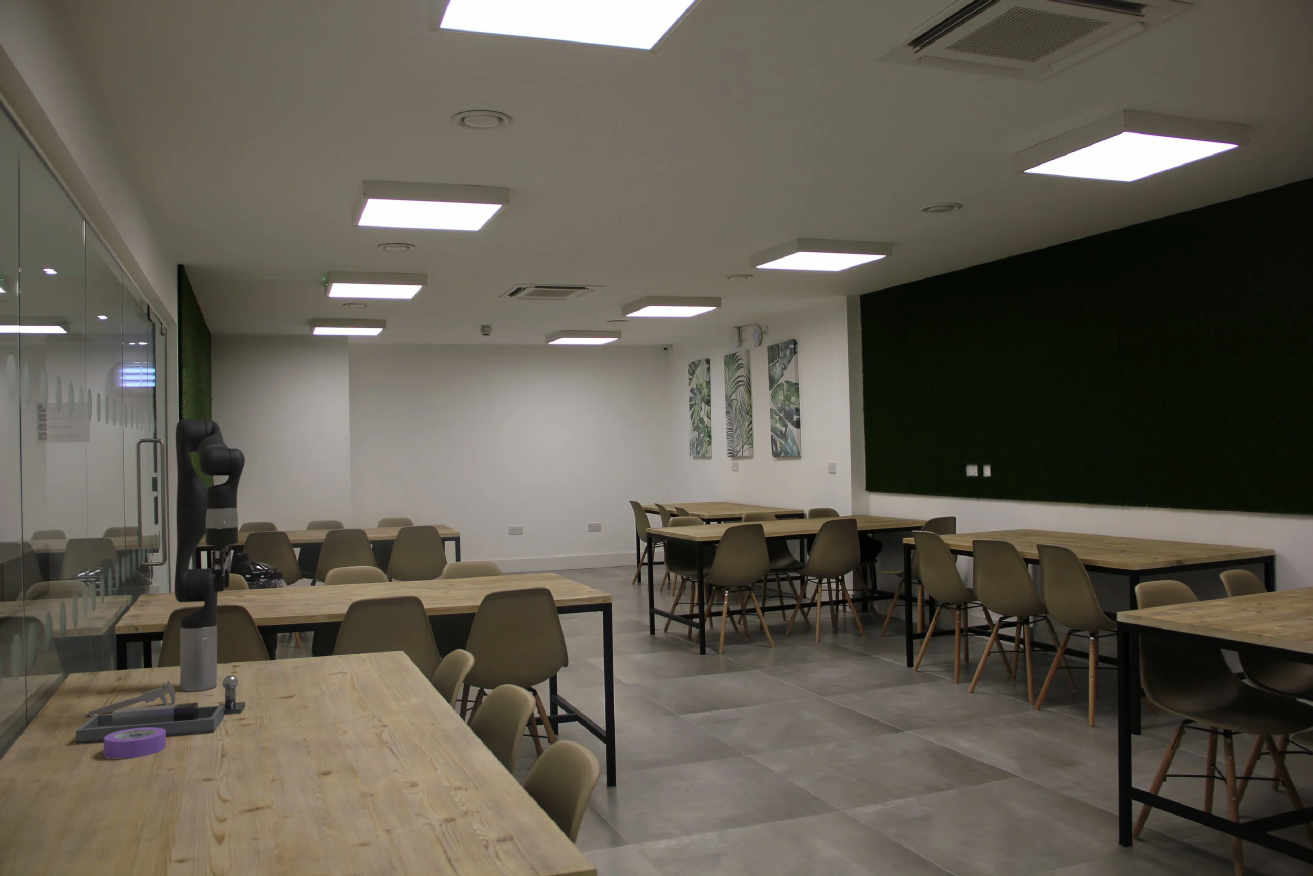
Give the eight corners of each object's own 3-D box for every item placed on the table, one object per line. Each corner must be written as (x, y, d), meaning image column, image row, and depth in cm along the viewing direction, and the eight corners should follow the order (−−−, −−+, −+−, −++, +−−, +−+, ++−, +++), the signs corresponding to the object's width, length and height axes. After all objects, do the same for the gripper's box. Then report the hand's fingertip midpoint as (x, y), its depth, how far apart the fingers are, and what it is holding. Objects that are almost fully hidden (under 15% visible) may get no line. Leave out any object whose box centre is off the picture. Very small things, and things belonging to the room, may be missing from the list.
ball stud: (219, 707, 237) (220, 673, 238) (245, 705, 239) (245, 671, 239) (214, 715, 230) (214, 679, 230) (240, 713, 231) (241, 677, 232)
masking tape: (149, 741, 209) (149, 723, 209) (176, 749, 202) (176, 731, 202) (93, 754, 199) (93, 736, 199) (119, 763, 192) (119, 744, 193)
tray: (94, 728, 220) (94, 715, 220) (223, 717, 228) (223, 705, 228) (75, 744, 206) (75, 730, 206) (213, 732, 214) (214, 719, 214)
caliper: (174, 704, 243) (174, 680, 244) (175, 705, 242) (175, 680, 243) (83, 717, 231) (83, 692, 231) (83, 718, 230) (84, 692, 230)
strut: (116, 728, 217) (116, 708, 217) (197, 721, 222) (198, 702, 222) (111, 733, 213) (111, 713, 213) (194, 726, 218) (194, 706, 218)
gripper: (210, 525, 244) (210, 587, 244) (200, 527, 231) (200, 593, 230) (241, 524, 246) (241, 586, 246) (233, 527, 233) (233, 592, 232)
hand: (221, 589), depth 238 cm, fingers open, 8 cm apart
